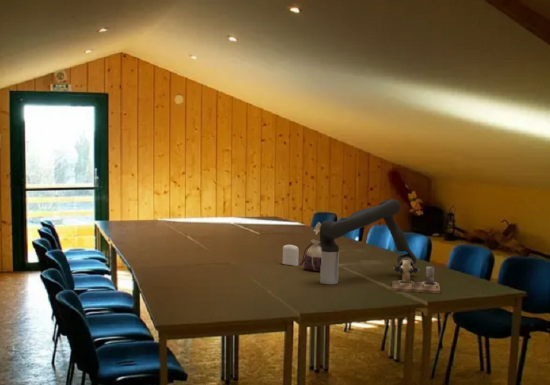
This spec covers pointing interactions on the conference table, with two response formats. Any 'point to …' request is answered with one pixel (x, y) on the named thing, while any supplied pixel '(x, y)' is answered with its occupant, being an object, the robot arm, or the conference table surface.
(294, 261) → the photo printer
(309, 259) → the pouch
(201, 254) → the conference table surface
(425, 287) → the pin board
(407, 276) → the maple pin
